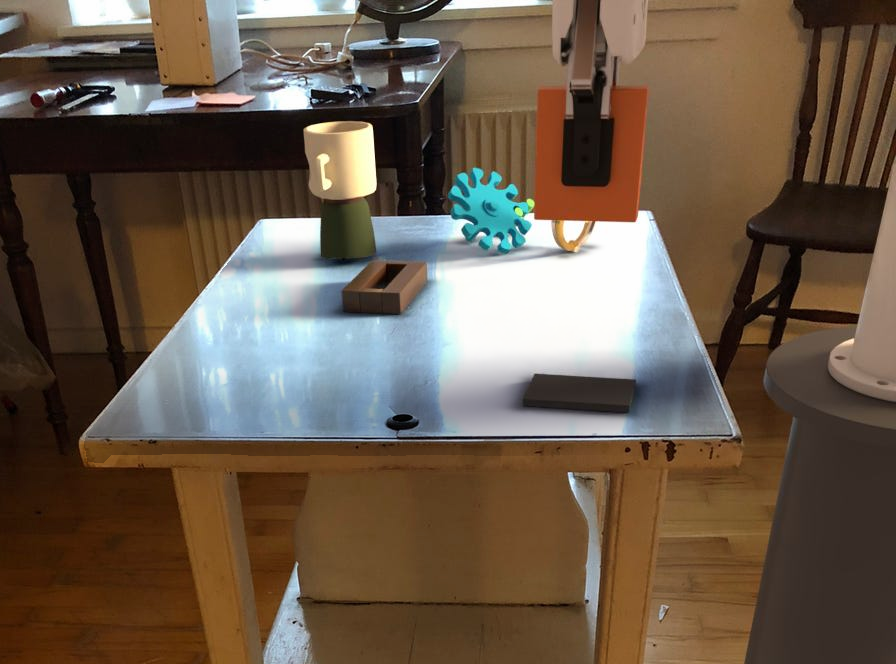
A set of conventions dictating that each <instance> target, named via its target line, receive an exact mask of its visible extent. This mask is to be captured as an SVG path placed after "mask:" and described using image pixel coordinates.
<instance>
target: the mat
mask: <svg viewBox="0 0 896 664" xmlns="http://www.w3.org/2000/svg"><path fill="white" fill-rule="evenodd" d="M636 386H637V379H635V378H634V379H633V378H619V377H618V378H617V377H602V376H601V377H599V376H584V375H565V374H551V373H533V376H532V378H531V380H530V382H529V384H528V387H527V389H526V391H525V393H524V396H523V398H522V406H523V407H536V408H550V409H551V408H552V409H564V410H565V409H567V410H579V411H594V412H595V411H596V412H609V413H610V412H612V413H626V414H629V413H630V412H631V408H632V403H633V399H634V395H635V391H636Z"/></svg>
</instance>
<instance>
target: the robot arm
mask: <svg viewBox="0 0 896 664" xmlns="http://www.w3.org/2000/svg"><path fill="white" fill-rule="evenodd" d="M648 2H649V0H552V6H551V7H552V8H551V10H552V11H551V12H552V13H551V44H552V45H551V46H552V47H551V48H552V49H551V50H552V58H553V60H554V61H555V62H556V63H557V64H558V65H559V66H561V67H563V68H564V67H565V66H566V86H567V91H566V118H565V119H564V127H563V150H562V174H561V182H562V184H563V185H564V186H579V187H605V186H607V185H608V184H609V182H610V177H611V163H612V149H613V135H614V121H615V118H610V113H611V99H612V86H619V81H620V69H621V65H622V66H623V67H627V66H629V65H630V64H632V63H633V62H634V61H635V59H636V58H637V57H638V56H639V55H640V53H641V52H642V51H643V50H644V48H645V46H646V40H647V24H648V23H647V21H648V4H649V3H648ZM878 228H879V229H878V232H877V237H876V242H875V246H874V251H873V254H872V260H871V264H870V268H869V271H868V272H869V273H868V278H867V282H866V285H865V290H864V293H863V299H862V303H861V306H860V307H861V308H860V313H859V315H858V316H859V317H858V321H857V325H856V326H857V329H856V334H855V338H854V339H851V340H848V341H845V342H843V343H841V344H839V345H838V346H836V347H835V348H834V349H833V350H832V351H831V353H830V357H829V361H828V371H829V372H830V374H831V376H832V377H833V378H834V379H835V380H836V381H837V382H839V383H840V384H842V385H843V386H845V387H847V388H849V389H851V390H853V391H855V392H858V393H860V394H863V395H866V396H869V397H873V398H877V399H881V400H885V401H890V402H896V158H895V159H894V163H893V167H892V172H891V176H890V180H889V185H888V189H887V194H886V198H885V202H884V207H883V212H882V216H881V220H880V224H879V227H878Z"/></svg>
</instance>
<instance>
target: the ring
mask: <svg viewBox="0 0 896 664" xmlns="http://www.w3.org/2000/svg"><path fill="white" fill-rule="evenodd" d="M550 221H551V223H550V224H551V233H552V236H553V239H554V242H555V244H556V245H557V246H558V247H559V248H561V249H563V250H566V251H569V252H572V253H577V252H579V250H580V249H581V248H582V247H583V246H584V245H585V244H586V243H587V241H588V240H589V238H591V237H590V236H591V235H592V232H593V230H594V228H595V225H596V222H597V221H584V225H583V228H582V230H581V232H580V234H579V235H578V237H577V238H576V239H575V240H573V239H570V240H569V241H567V240H566V238H565V235H564V224H565V223H564V222H565V221H562V220H550Z"/></svg>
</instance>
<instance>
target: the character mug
mask: <svg viewBox="0 0 896 664" xmlns="http://www.w3.org/2000/svg"><path fill="white" fill-rule="evenodd" d="M303 140H304V153H305V156H306V159H307V162H308V165H309V167H308V168H309V176H308V177H309V178H308V188H309V190H310V192H311V194H312V195H314V196H316V197H318V198H320V200H321V202H322V204H321V208H320V227H319V229H320V232H319V249H320V250H319V253H320V257H321V258H323V259H325V260H331V259H340V261H341V263H345V262H347V259H360V258H368V257H372V256H374V255H375V254H376V253H377V252H378V251H377V243H376V237H375V231H374V225H373V220H372V217H371V210H370V206H369V203H368V201H367V199H366V198H365V197H366V196H368V195H372V194H373V193H375V191H377V173H376V172H377V171H376V158H375V143H374V142H375V141H374V130H373V124H371V123H370V122H365V121H355V120H346V121H344V120H343V121H329V122H322V123H316V124H311V125H308V126H306V127H304V128H303Z"/></svg>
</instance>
